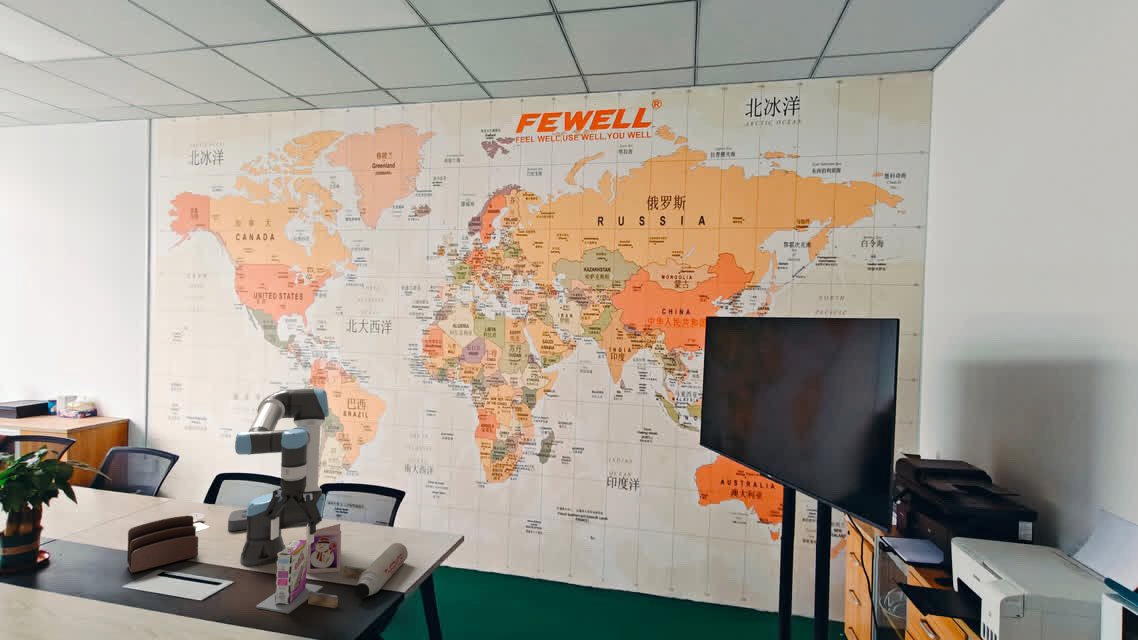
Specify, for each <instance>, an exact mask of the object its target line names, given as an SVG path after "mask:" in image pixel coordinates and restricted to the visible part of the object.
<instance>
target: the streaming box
mask: <svg viewBox="0 0 1138 640" xmlns="http://www.w3.org/2000/svg"><path fill="white" fill-rule="evenodd" d="M246 514H247V508H246V509H239V510H238V509H237V510H234V511H231V512H230V514H229V516H228V519H227V530H228V531H232V532H235V531H242V530H247V516H246Z"/></svg>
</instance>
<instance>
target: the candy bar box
mask: <svg viewBox="0 0 1138 640" xmlns="http://www.w3.org/2000/svg"><path fill="white" fill-rule="evenodd" d="M307 548H308V545H306V539H294V540H292V541H290V543H289V544H288V545H285V548H284V549H283V550H281V551H280V552H279V553H278V554H277V561H276V570H275V571H276V574H275V593H274V594H275V604H282V605H289V604H290V603H291V602H292V601H293V600H294V599H295V598H296V597H297V596H298V595H299V593H300V592H301V591H302V590H303V589H304V588H305V587H306V584H307V582H306V581H307Z"/></svg>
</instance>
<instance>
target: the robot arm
mask: <svg viewBox="0 0 1138 640" xmlns="http://www.w3.org/2000/svg"><path fill="white" fill-rule="evenodd" d="M256 411H257V415H256V416H255V419H254V420H253V422H252V423H251V426H250V427H249V429H248V430H246V431H241V432H238V433H237V434H236V436H235V445H234V448H235V453H236V454H237V455H238V456H239V455H241V456H242V455H248V456H249V455H261V454H263V455H264V454H278V453H281V458H280V459H281V463H280V477H281V479H280V488H277V489H275V490H273V491H272V493H266V494H263V495H260V496H257V497H256V498H253V499H252V500H250V501H249V503H248V504H247V506H246V507H247V508H246V509H247V514H246V516H247V529H246V533H245V534H246V538H245V543H244V545H243V547H242V552H241V553H240V556H239V557H240V561H239V562H240V564H241V565H243V566H245V567H262V566H267V565H270V564H273V563H277V554H278V553H279V552H280V551H281V550H283V549H284V548H285V547H286V545H285V543H284V539H283V536H282V530H287V529H298V528H306V530H305V531H306V537H305V540H306V545H307V546H308V545H310V544H311V543H313V542H314V533H316V530H317V525H319V524H320V523H321V522H322V521H323V519H322V518H323V513H324V508H325V502H326V494H325V493H322V492H323V491H322V488H320V486H319V485H318V484H319V464H320V446H321V445H320V444H321V443H320V441H321V426H322V424H324V423H325V421H326V418H328V417H329V415H330V412H329V401H328V393H327V390H325V389H323V388H320V389H319V388H303V389H301V388H300V389H299V388H298V389H283V390H278V391H276V392H273V393H272V394H270V395H268V396H267V397H265V398H264V399H263V400H262V401H260V403H259V404H258V407H257V410H256ZM282 419H293V424H294V425H296V427H294V428H291V429H282V430H281V429H278V430H275V429H276V428H277V427H276V426H277V425H278V423H279V421H280V420H282Z"/></svg>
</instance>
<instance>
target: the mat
mask: <svg viewBox="0 0 1138 640" xmlns="http://www.w3.org/2000/svg"><path fill="white" fill-rule="evenodd" d="M322 589H324V586H323V585H316V584H311V583H306V587H305V588H304V589H303V590H302V591H301V592H300V593H299V595H298V596H297V597H296V598H295V599H294V600H293V601H292V602H291V603H290V604H289V605H282V604H275V593H273V594H272V595H270V596H268V597H267V598H265V600H263V601H261V602H259V603H258V604H256V605H255V608H256V609H261V610H265V611H266V610H267V611H271V612H276V613H281V614H287V615H289V614H290V613H292V612H293V611H295V610H296V609H297V608H298V607H299V606H301V605H302V604H304V603H305V602H306V601H307V600H308V595H309V592H317V593H319V592H320V591H321V590H322Z"/></svg>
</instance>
